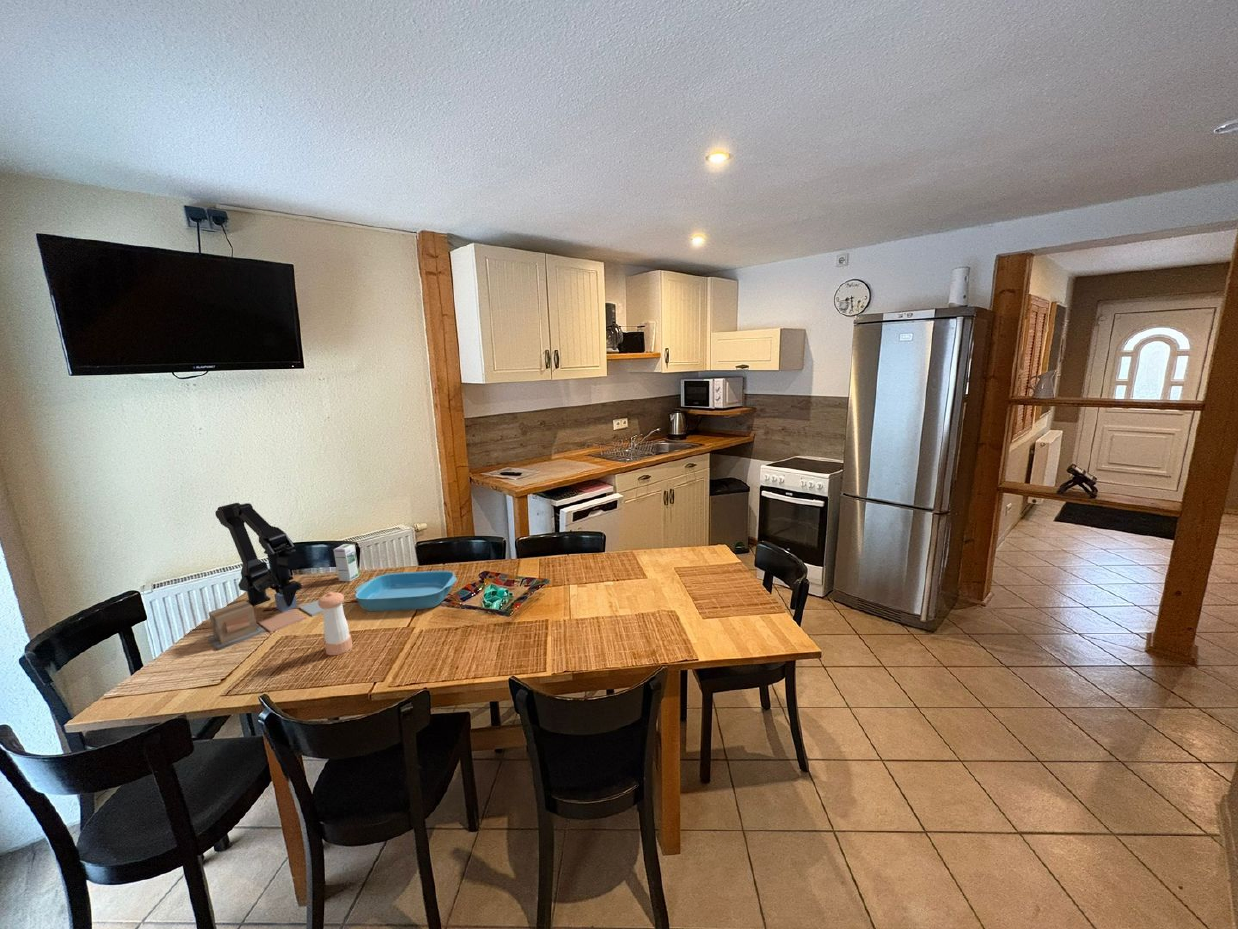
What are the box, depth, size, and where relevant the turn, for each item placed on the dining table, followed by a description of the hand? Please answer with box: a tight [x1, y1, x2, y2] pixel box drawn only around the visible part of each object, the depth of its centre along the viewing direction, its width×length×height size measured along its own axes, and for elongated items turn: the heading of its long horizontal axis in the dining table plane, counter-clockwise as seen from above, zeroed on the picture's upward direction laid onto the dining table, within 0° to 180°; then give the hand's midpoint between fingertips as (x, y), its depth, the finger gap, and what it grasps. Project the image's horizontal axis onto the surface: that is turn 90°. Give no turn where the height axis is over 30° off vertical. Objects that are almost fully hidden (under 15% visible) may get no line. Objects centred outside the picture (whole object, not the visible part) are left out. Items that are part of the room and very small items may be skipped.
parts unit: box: [207, 599, 266, 651], centre depth 165 cm, size 11×13×10 cm
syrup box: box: [332, 543, 361, 582], centre depth 208 cm, size 6×6×14 cm
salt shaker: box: [318, 591, 353, 656], centre depth 154 cm, size 7×7×19 cm
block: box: [274, 592, 298, 613], centre depth 184 cm, size 5×5×6 cm
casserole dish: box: [354, 570, 457, 612], centre depth 187 cm, size 37×22×7 cm, turn 90°
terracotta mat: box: [258, 608, 307, 633], centre depth 175 cm, size 11×11×1 cm
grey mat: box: [299, 599, 344, 617], centre depth 185 cm, size 11×11×1 cm
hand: (286, 604), depth 185 cm, fingers closed on block, 5 cm apart
